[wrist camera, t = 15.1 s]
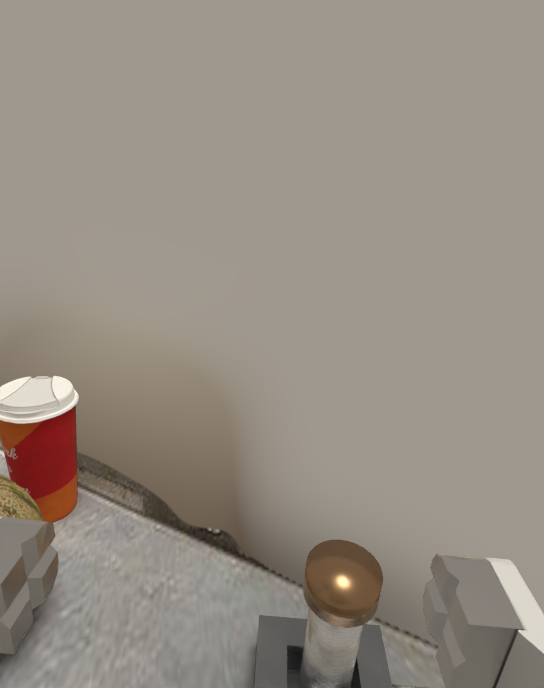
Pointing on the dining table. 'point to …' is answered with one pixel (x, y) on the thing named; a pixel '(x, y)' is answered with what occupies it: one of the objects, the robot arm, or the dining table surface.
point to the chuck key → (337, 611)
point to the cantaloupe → (17, 502)
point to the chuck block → (287, 651)
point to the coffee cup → (41, 441)
